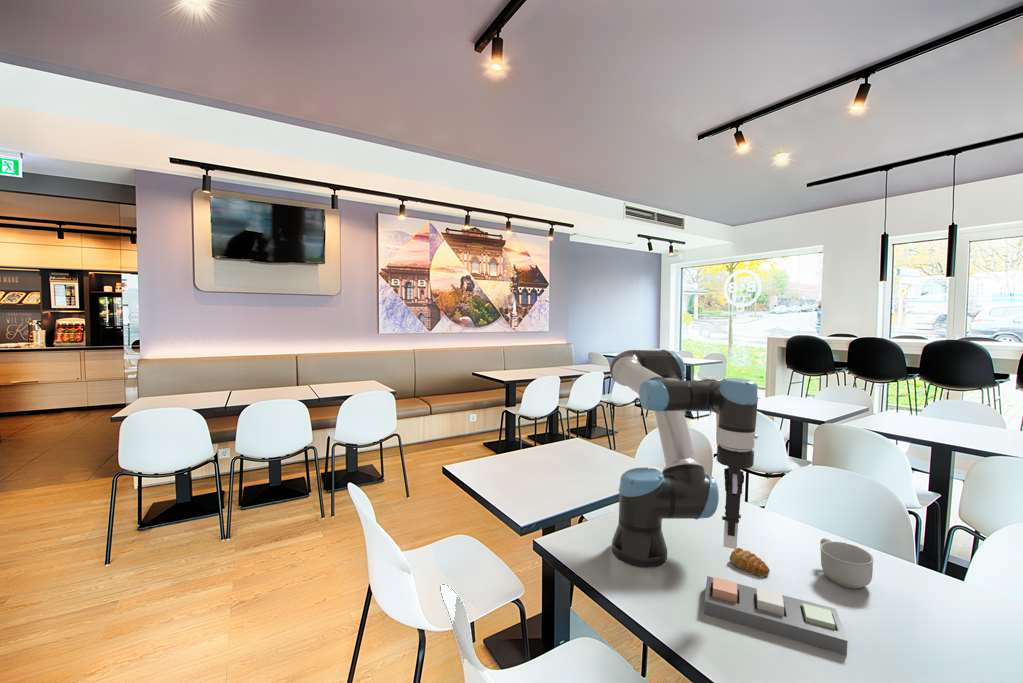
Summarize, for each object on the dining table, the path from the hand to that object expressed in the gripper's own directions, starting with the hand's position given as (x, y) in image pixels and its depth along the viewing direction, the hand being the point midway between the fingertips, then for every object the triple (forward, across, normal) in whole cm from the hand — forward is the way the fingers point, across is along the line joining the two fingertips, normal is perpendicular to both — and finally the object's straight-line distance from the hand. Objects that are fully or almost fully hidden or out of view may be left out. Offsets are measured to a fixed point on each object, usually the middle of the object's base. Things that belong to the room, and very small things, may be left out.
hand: (729, 546), depth 101 cm
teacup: (+14, +25, -27) cm, 40 cm away
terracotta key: (+12, -1, +1) cm, 12 cm away
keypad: (+14, -1, -8) cm, 16 cm away
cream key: (+12, -1, -8) cm, 14 cm away
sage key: (+12, -2, -17) cm, 21 cm away
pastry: (+15, +20, -6) cm, 26 cm away
